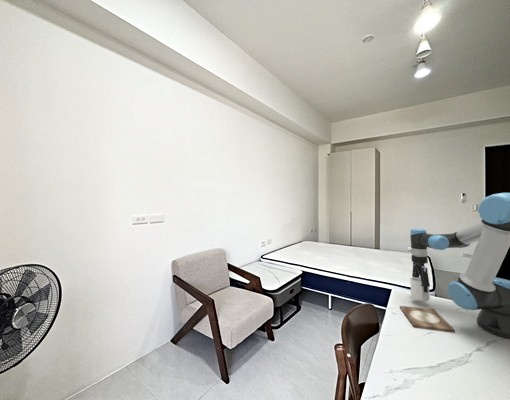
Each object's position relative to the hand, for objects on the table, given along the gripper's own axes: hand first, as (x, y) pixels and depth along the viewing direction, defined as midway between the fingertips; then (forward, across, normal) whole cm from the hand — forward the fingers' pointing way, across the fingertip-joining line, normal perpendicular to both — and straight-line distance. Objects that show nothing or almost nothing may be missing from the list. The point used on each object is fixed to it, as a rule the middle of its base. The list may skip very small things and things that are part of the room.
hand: (421, 293), depth 128 cm
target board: (+5, +20, -6) cm, 21 cm away
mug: (+2, -1, 0) cm, 3 cm away
